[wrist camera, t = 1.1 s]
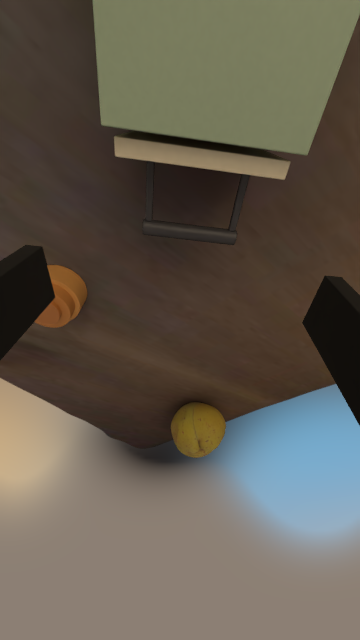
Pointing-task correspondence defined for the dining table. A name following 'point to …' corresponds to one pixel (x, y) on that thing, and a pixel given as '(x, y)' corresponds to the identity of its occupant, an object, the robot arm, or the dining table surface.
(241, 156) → the drawer
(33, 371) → the dining table surface
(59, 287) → the stepped orange cylinder
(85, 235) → the dining table surface
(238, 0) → the cabinet
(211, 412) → the fruit
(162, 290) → the dining table surface
